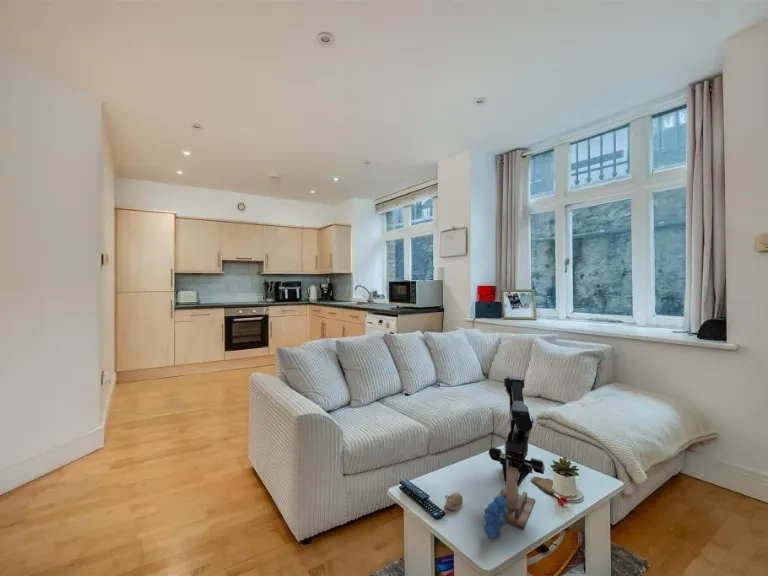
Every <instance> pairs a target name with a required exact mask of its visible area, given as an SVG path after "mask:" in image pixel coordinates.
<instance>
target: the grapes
mask: <svg viewBox="0 0 768 576" xmlns="http://www.w3.org/2000/svg"><path fill="white" fill-rule="evenodd" d="M487 505H488V506H487V507H486V508H485V509H484V510H483V512H484V515H483V519H484V522H485V524H484V525H483V532H484V534H486V535H487V538H488V539H490V540H491V539H492V540H493V538H495V537H496V536H498V535H500V534H501V533H502V529H501V527H503V526H505V525H506V524H507V523H506V520H505V517H504V516H503V515H506V514H507V513H508V508H507V506H506V505H507V501H506V499H505V497H501V496H498V495H496V496H495V497H493V501H491V502H490V503H488V504H487Z"/></svg>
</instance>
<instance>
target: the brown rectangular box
mask: <svg viewBox="0 0 768 576" xmlns="http://www.w3.org/2000/svg"><path fill="white" fill-rule="evenodd" d="M518 478H519V472H518V468H514V467H511V466H510V467H509V468H508V470H507V478H506V483H505V484H506V486H505V488H506V501H507V505H506V506H507V508H509V509H512V510H515V508H516V506H517V504H518V494H519V487H518V486H517V483H518Z"/></svg>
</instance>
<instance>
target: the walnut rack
mask: <svg viewBox="0 0 768 576" xmlns="http://www.w3.org/2000/svg"><path fill="white" fill-rule="evenodd" d="M497 496H501V497H505V499H506V487H505V488H501V489H500V492H499V493H498V494H497ZM535 503H536V499H535V498H534V497H529V496H528V492H525V491H523V492H522V494H521V493H518V504H517V506H516V508H515V510H512V509H509V508H508V513H507V514H506V515H503V516H504V517H505V520H506V524H508V525H509V526H512V527H515V528H517V529H520V530H524V529H525V528H526V525H527V522H528V520H529V518H530V516H531V514H532V512H533V511H532V510H533V508H534V506H535Z"/></svg>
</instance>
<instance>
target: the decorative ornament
mask: <svg viewBox="0 0 768 576" xmlns="http://www.w3.org/2000/svg"><path fill="white" fill-rule="evenodd" d="M444 499H445V500H446V502H445V504H444V506H443V507H444V508H447V509H448V510H451V511H459V510H461V509H462V507H463V506H464V503H463V502H464V500H463V499H464V498H463V495H462V494H461V493H460V492H459V491H456V492H453V493H451V494H449V495H447V494H445V495H444Z"/></svg>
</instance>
